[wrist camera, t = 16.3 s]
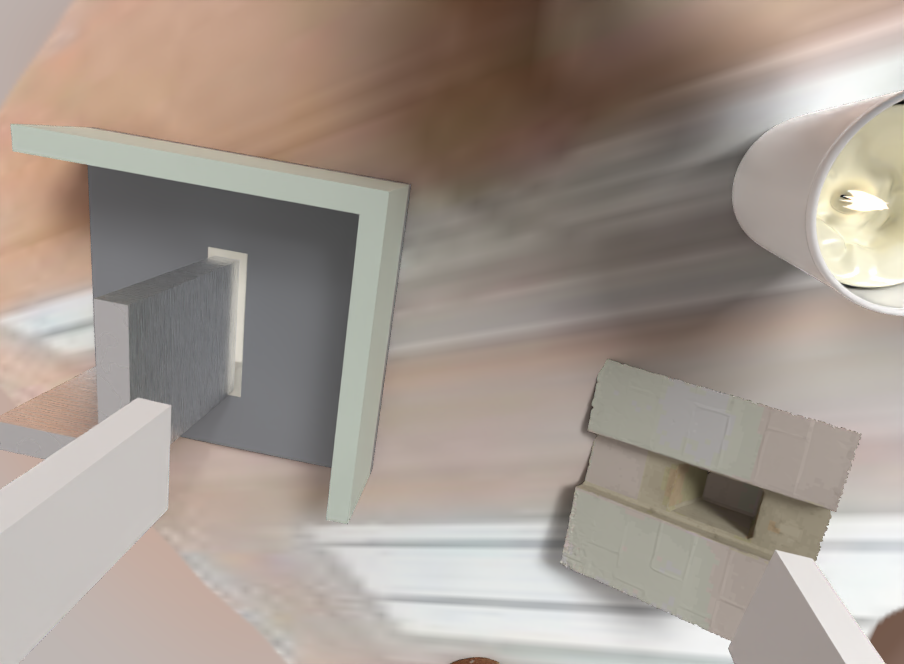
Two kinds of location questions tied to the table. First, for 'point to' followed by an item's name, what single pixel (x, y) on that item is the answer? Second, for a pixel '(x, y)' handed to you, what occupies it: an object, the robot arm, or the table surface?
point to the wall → (699, 494)
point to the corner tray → (260, 282)
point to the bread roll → (476, 661)
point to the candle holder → (833, 198)
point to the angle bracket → (143, 358)
